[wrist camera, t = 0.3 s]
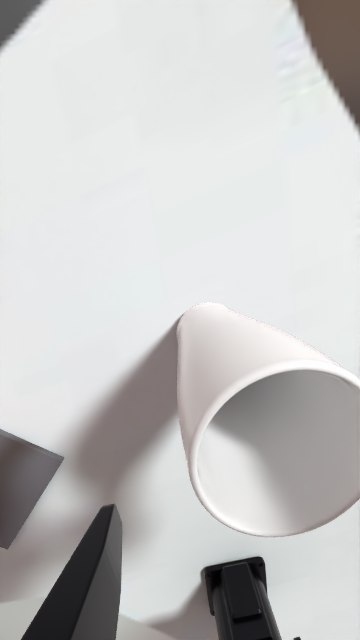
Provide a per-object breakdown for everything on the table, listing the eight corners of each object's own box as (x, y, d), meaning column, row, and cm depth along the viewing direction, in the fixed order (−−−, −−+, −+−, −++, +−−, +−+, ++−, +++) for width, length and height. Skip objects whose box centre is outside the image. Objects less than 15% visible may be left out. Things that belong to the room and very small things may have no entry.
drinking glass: (251, 357, 24) (395, 512, 10) (177, 376, 24) (209, 563, 9) (237, 283, 22) (387, 334, 8) (158, 303, 22) (162, 392, 8)
